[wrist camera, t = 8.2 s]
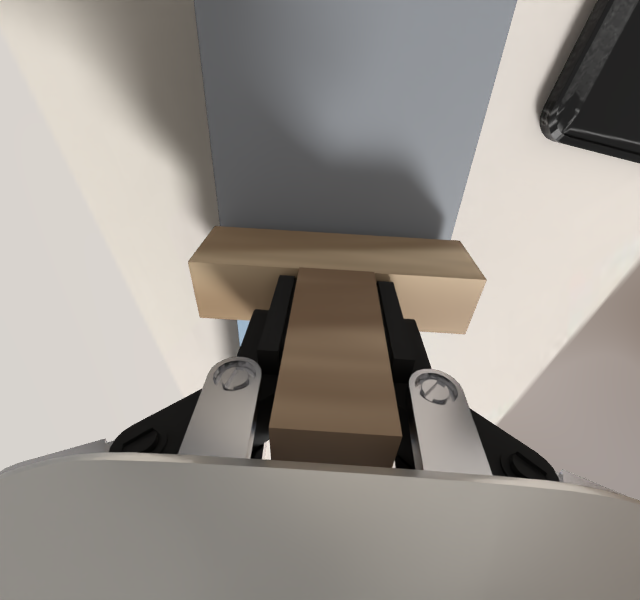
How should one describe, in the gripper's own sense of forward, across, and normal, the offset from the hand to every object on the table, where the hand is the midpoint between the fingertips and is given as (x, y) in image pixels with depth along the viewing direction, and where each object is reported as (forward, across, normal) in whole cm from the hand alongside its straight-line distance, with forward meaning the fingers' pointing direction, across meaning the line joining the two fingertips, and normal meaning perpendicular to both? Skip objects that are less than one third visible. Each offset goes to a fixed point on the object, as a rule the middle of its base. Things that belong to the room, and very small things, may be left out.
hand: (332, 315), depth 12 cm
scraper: (+3, 0, -1) cm, 3 cm away
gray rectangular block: (+8, 0, -4) cm, 9 cm away
